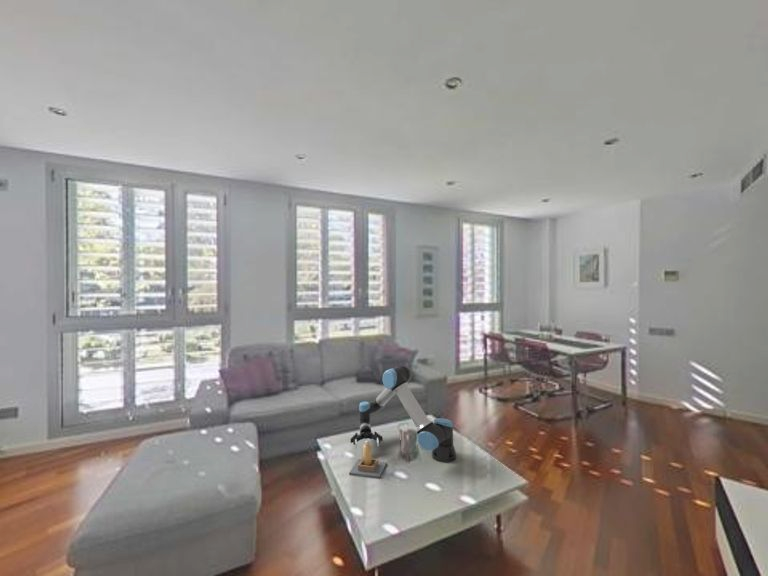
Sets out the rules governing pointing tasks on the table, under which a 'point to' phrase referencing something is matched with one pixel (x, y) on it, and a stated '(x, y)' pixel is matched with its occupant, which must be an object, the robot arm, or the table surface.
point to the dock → (368, 469)
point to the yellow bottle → (367, 454)
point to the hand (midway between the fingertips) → (367, 445)
